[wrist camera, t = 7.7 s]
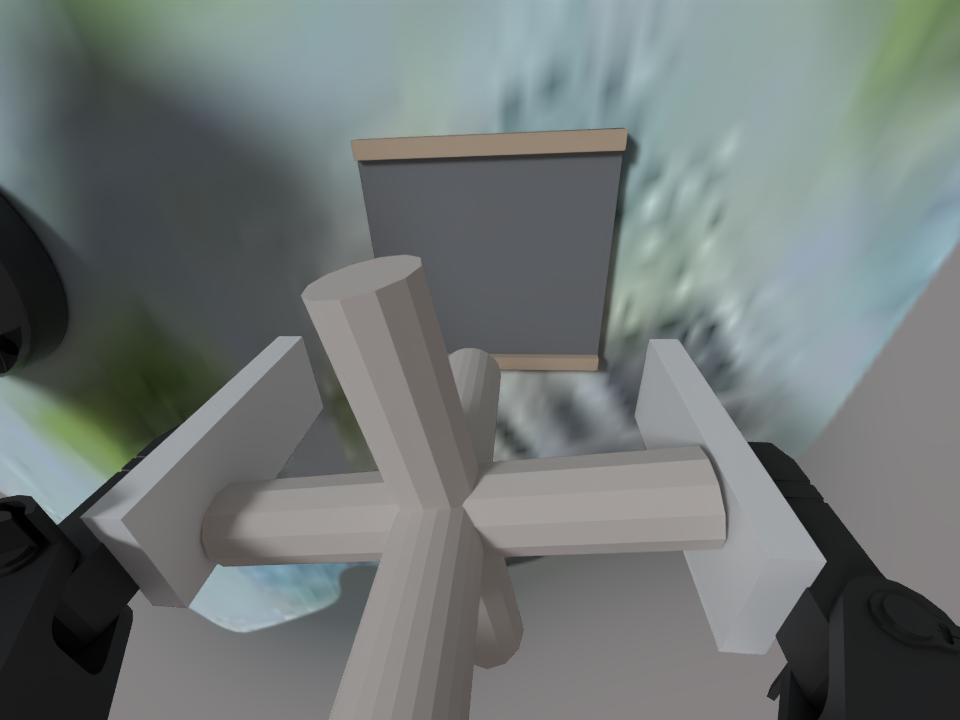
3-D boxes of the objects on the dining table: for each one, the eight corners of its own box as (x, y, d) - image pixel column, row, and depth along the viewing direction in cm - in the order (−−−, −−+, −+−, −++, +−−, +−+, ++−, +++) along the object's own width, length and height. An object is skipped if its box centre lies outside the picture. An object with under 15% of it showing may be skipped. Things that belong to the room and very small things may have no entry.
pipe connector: (640, 475, 14) (809, 1011, 6) (375, 493, 16) (207, 920, 8) (638, 166, 9) (1762, 715, 1) (256, 242, 11) (-600, 659, 3)
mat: (396, 359, 25) (391, 368, 24) (358, 139, 19) (350, 140, 18) (594, 361, 24) (597, 370, 23) (623, 127, 18) (628, 128, 17)
